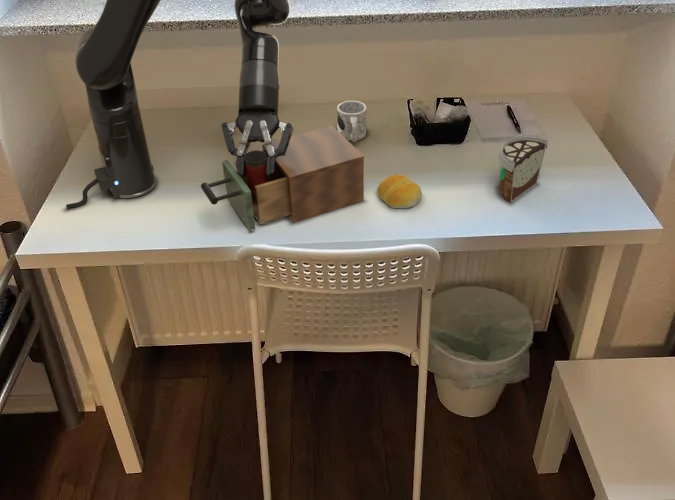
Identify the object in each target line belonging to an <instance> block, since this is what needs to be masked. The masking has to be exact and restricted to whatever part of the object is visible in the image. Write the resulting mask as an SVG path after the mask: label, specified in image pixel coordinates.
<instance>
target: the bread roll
mask: <svg viewBox="0 0 675 500" xmlns="http://www.w3.org/2000/svg"><path fill="white" fill-rule="evenodd" d="M421 189H422V188H421V187H420V185H419V184H418V183H415V182H414V181H412V179H411V178H409V177H407V176H406V175H403V174H399V173H398V174H392V175H389V176H387V177H386V178H384V179H382V180H381V181H380V183H379V184H378V186H377V190H376V191H377V194H378V196H379V198H380V199H381V200H382V201H383V202H385V203H386V205H388V206H389V207H391V208H393V209H394V208H395V209H409V208H413V207H414V206H416V205H417V204H419V202H420V201H421V198H422V190H421Z"/></svg>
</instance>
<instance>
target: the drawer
mask: <svg viewBox="0 0 675 500" xmlns="http://www.w3.org/2000/svg"><path fill="white" fill-rule="evenodd" d="M265 153H266V154H267V152H265ZM267 157H268V154H267ZM221 163H222V170H223V178H224V179H220V180H216V181H213V182H210V183H207V182H202V183H201V184H200V188H201V190H202V192H203V193H204V195H205V196H206V198H207V200H208V201H209V203H210V204H211V205H217V204H218V203H219V202H220V201H224V200H228V201H229V203H230V204H231V206H232V208H233V209H234V210H235V211H236V213H237V215H238V216H239V218H240V219H241V220H242V222H243V223H244V225H245V227H246V228H247V229H248V230H249V231H253V230H256V223H255V219H256V220H257V221H258V223H259V224H261V225H262V224H264V223H268V222H271V221H274V220H278V219H280V218H284V217H288V216H287V215H291V207H290V193H289V180H288V178H287V177H286V175H285V174H284V173H283V172H282V171H281V169H280V168H279V167H278V166H277V165H276V163H275V174H274V175H272V178H270V182H267V183H264V184H260V185H257V186H255V192H256V195H253V194H251V191H250V189H249V188H248V186H247V178H246V177H245V178H241V177H240V175H239V174H238V173H237V159H235V166H236V168H235V167H234V166H233V164H232V163H231V162H230V160H229V159H225V160H222V161H221ZM224 184H225V192H226V194H223V195H219V196H216V194H215V193H214V191H213V190H212V188H214V187H217V186H221V185H224Z"/></svg>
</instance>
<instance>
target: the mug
mask: <svg viewBox="0 0 675 500" xmlns="http://www.w3.org/2000/svg"><path fill="white" fill-rule="evenodd" d="M336 119H337V121H336V123H337V131H338V132H339V133H340V134H341V135H342V136H343V137H344V138H345V139H346V140H347V141H349V142H350V141H351V142H352V143H356V142H357V141H359V140H362V139H364V138H366V135H367V104H365V103H364V102H362V101H358V100H345V101H342V102H340V103H339V104H337V106H336Z"/></svg>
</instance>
